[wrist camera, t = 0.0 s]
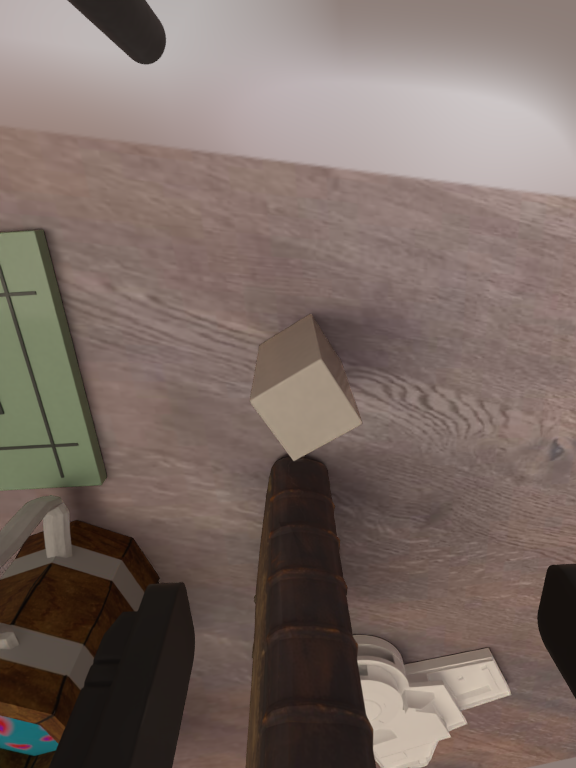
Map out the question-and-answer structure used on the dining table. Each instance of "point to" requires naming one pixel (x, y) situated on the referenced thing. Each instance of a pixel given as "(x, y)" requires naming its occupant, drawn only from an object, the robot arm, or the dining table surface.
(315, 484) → the book
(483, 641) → the dining table surface
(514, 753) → the dining table surface
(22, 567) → the mug
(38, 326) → the grid board
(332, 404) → the beige rectangular block
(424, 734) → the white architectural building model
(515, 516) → the dining table surface
